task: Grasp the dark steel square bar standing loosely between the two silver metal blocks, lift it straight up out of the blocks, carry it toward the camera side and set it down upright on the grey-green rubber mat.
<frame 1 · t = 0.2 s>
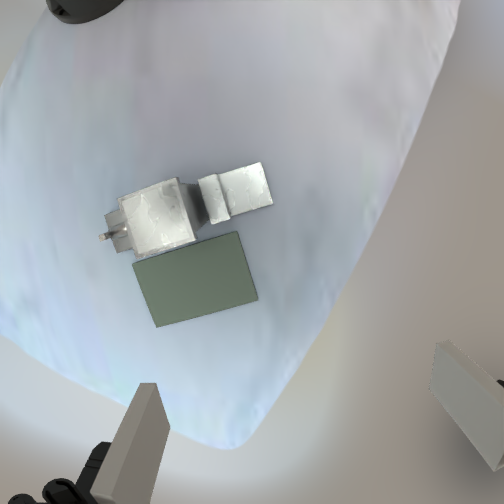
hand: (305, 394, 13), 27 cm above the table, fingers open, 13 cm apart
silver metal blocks: (186, 207, 39), on the table
mat: (194, 281, 40), on the table
bar: (186, 207, 39), on the table
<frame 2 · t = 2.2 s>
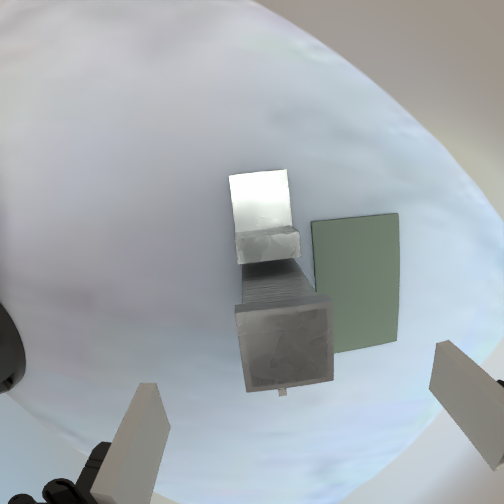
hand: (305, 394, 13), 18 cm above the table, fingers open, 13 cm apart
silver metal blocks: (268, 279, 31), on the table
mat: (358, 286, 32), on the table
bar: (268, 279, 31), on the table
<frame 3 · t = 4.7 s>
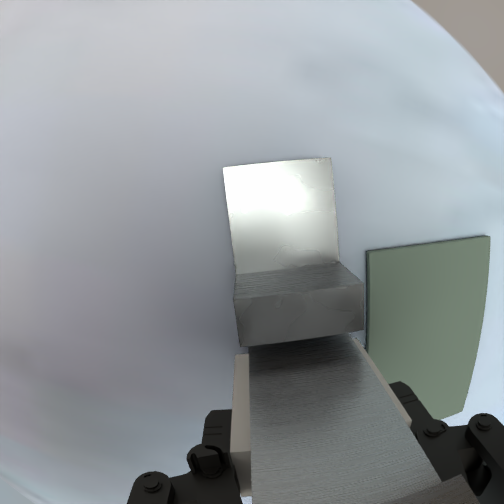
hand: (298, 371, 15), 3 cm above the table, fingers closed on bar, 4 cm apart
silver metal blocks: (291, 346, 18), on the table
mat: (427, 348, 18), on the table
bar: (291, 346, 18), on the table, touching gripper
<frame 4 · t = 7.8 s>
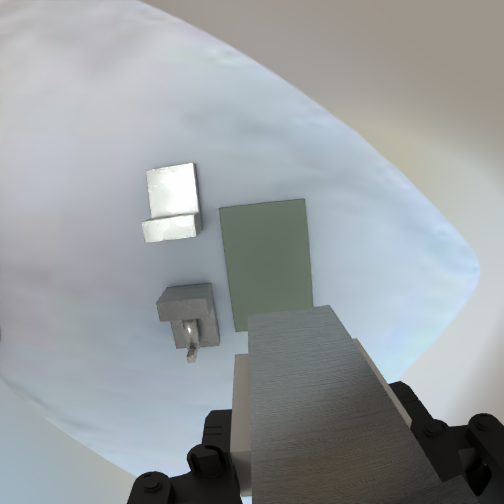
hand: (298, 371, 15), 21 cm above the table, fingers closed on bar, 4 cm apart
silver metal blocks: (184, 259, 35), on the table
mat: (268, 267, 35), on the table
bar: (291, 346, 18), point 18 cm above the table, touching gripper
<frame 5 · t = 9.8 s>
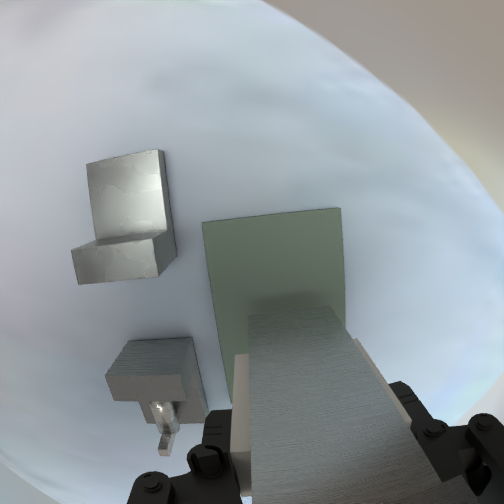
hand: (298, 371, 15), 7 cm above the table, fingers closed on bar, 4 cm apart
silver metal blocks: (150, 301, 22), on the table
mat: (281, 315, 22), on the table
bar: (291, 346, 18), point 5 cm above the table, touching gripper
when the fingers open (4 cm above the table, at t = 11.3 s): bar drops 1 cm, resting on mat.
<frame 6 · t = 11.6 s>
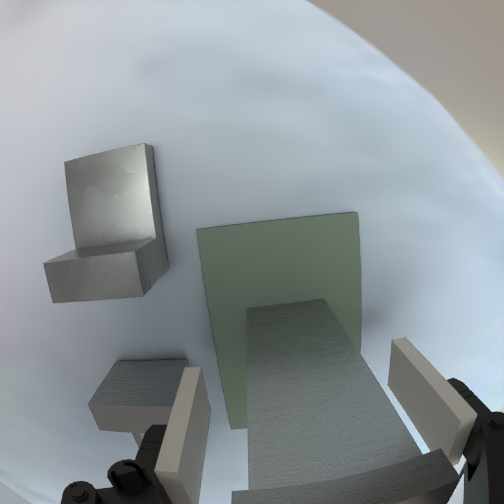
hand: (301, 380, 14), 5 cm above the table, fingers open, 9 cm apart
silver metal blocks: (139, 318, 19), on the table
mat: (288, 334, 19), on the table
bar: (288, 337, 19), resting on mat
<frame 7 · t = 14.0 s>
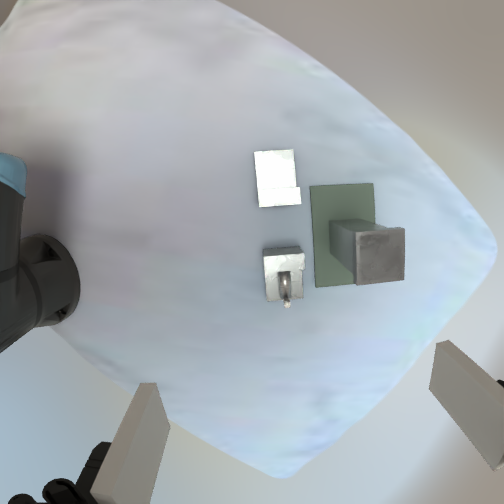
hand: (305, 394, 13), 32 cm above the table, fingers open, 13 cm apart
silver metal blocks: (279, 225, 44), on the table
mat: (344, 235, 44), on the table
bar: (345, 235, 44), resting on mat
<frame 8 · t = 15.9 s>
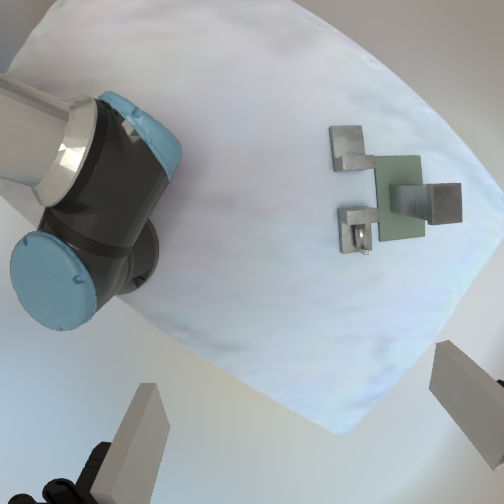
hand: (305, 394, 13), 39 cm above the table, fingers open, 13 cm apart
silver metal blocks: (350, 188, 50), on the table
mat: (400, 197, 50), on the table
bar: (401, 197, 50), resting on mat
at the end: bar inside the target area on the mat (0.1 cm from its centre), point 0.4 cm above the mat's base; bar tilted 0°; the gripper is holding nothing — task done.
